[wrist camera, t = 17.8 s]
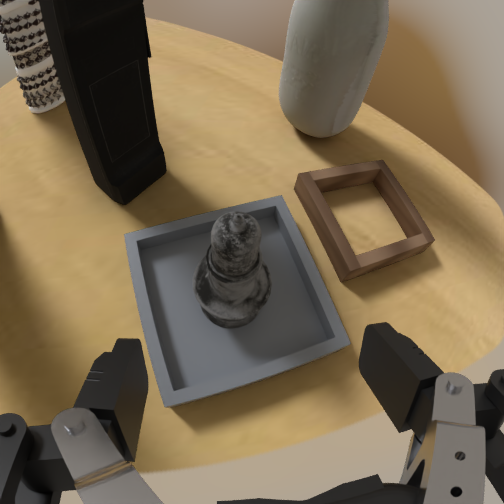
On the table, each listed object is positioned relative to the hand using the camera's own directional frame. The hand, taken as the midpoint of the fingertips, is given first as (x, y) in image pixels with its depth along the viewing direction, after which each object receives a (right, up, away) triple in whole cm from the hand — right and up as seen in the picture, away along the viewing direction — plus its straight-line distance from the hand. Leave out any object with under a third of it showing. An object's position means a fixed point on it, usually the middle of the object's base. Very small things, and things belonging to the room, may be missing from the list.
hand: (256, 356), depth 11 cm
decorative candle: (-34, +29, +30) cm, 54 cm away
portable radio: (-13, +12, +23) cm, 29 cm away
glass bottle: (+8, +20, +29) cm, 36 cm away
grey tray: (-2, 0, +17) cm, 17 cm away
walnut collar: (+12, +7, +22) cm, 26 cm away
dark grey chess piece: (-2, 0, +16) cm, 16 cm away
